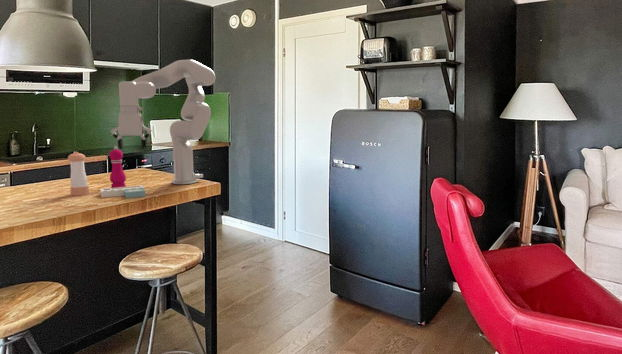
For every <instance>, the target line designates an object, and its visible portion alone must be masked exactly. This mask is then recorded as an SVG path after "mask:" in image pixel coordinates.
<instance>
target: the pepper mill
mask: <svg viewBox="0 0 622 354" xmlns="http://www.w3.org/2000/svg"><path fill="white" fill-rule="evenodd" d="M108 154H109V156H108V157H109V158H110V161H111V164H112V166H111V167H112V170H111V172H110V175H109V181H110V182H111V183H112V184H111V188H118V187H127V186H126V180H127V177H126V176H127V175H126V174H125V171H124V169H123V165H122V163H123V157H124V153H123V152H122V150H121V149H119V147H118V146H113V149H112V150H110V151H109V153H108Z"/></svg>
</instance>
